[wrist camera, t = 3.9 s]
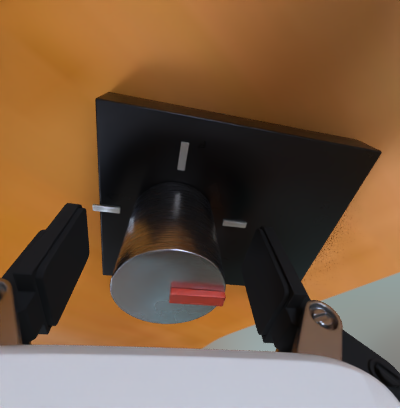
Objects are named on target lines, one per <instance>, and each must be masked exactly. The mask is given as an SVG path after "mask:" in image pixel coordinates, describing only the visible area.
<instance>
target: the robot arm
mask: <svg viewBox="0 0 400 408" xmlns="http://www.w3.org/2000/svg"><path fill="white" fill-rule="evenodd" d="M88 257H89V240H88V227H87V215H86V209H85V208H82V206H81V205H79V204H71V203H67V204H66V205H65V206H64V207H63V208H62V210H61V211H60V212H59V214H58V215H57V216H56V217H55V219H54V220H53V221H52V223H51V224H50V225H49V226H48V228H47V229H46V230H41V231H40V232H39V233H38V234H37V235H36V236H35V237H34V239H33V240H32V241H31V242H30V243H29V245H28V246H27V247H26V248H25V250H24V251H23V252H22V253H21V255H20V256H19V257H18V258H17V259H16V261H15V262H14V263H13V264H12V266H11V267H10V268H9V269H8V271H7V272H6V273H5V274H4V275H3V277H2V278H0V408H400V373H399V372H398V371H397V370H396V369H395V368H394V367H393V366H392V365H391V364H390V363H389V362H387V361H386V360H385V359H383V358H382V357H381V356H379V355H378V354H376V353H375V352H373V351H372V350H370V349H369V348H368V347H366V346H365V345H364V344H362V343H361V342H359V341H358V340H356V339H355V338H354V337H352V336H351V335H349V334H348V333H347V332H345V331H344V330H343V329H342V327H343V326H342V321H341V319H340V317H339V315H338V314H337V313H336V312H335V311H334V310H333V309H332V308H331V307H330V306H329V305H327V304H325V303H323V302H321V301H318V300H310V298H309V296H308V294H307V292H306V290H305V288H304V286H303V284H302V283H301V281H300V279H299V277H298V275H297V273H296V271H295V269H294V267H293V265H292V263H291V261H290V259H289V258H288V256H287V254H286V252H285V250H284V248H283V246H282V244H281V242H280V241H279V239H278V237H277V235H276V233H275V231H274V229H273V228H272V227H264V226H261V227H260V228H259V229H256V231H255V233H254V236H253V238H252V241H251V243H250V246H249V248H248V251H247V253H246V256H245V258H244V260H243V263H242V266H241V272H242V276H243V280H244V283H245V287H246V291H247V294H248V298H249V302H250V306H251V309H252V313H253V317H254V320H255V324H256V328H257V331H258V333H259V335H262V339H263V342H264V343H274V345H275V347H276V352H268V351H244V350H217V349H216V350H215V349H188V348H156V347H122V346H85V345H31V341H32V340H34V339H35V338H36V337H37V335H38V334H48V333H49V331H50V329H51V327H52V326H56V325H57V324H58V322H59V320H60V317H61V315H62V313H63V311H64V309H65V307H66V305H67V302H68V300H69V298H70V296H71V294H72V292H73V290H74V287H75V285H76V283H77V281H78V279H79V277H80V274H81V272H82V270H83V268H84V266H85V264H86V262H87V259H88Z"/></svg>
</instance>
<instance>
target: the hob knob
mask: <svg viewBox="0 0 400 408" xmlns="http://www.w3.org/2000/svg"><path fill="white" fill-rule="evenodd" d="M225 287H226V284H225V277H224V272H223V267H222V261H221V256H220V251H219V245H218V240H217V235H216V229H215V224H214V219H213V213H212V208H211V205H210V203H209V201H208V199H207V198H206V197H205V195H204V194H203V193H202V192H200V191H199V190H198V189H196V188H195V187H193V186H190V185H188V184H185V183H180V182H164V183H160V184H156V185H154V186H152V187H150V188H148V189H147V190H145V191H144V192H143V193H142V194H141V195H140V196H139V198H138V199H137V201H136V203H135V205H134V209H133V212H132V215H131V218H130V221H129V224H128V227H127V231H126V234H125V237H124V240H123V243H122V246H121V249H120V253H119V256H118V259H117V262H116V265H115V268H114V271H113V275H112V278H111V281H110V292H111V295H112V298H113V300H114V301H115V303H116V304H117V305H118V306H119V307H120V308H121V309H122V310H123V311H125V312H126V313H127V314H129V315H131V316H133V317H135V318H137V319H140V320H143V321H147V322H152V323H161V324H174V323H182V322H187V321H191V320H194V319H197V318H199V317H202V316H204V315H206V314H207V313H209V312H210V311H212V310H213V309H214V308H215V307H216V306H223V303H224V301H225V298H226V297H225Z"/></svg>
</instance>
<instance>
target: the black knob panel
mask: <svg viewBox="0 0 400 408" xmlns="http://www.w3.org/2000/svg"><path fill="white" fill-rule="evenodd" d="M96 124H97V148H98V172H99V196H100V204H93V211H100V220H101V244H102V268H103V275H110V276H112V275H113V271H114V268H115V265H116V262H117V259H118V256H119V253H120V249H121V246H122V243H123V240H124V237H125V234H126V231H127V227H128V224H129V221H130V218H131V215H132V212H133V209H134V205H135V203H136V201H137V199H138V198H139V196H140V195H141V194H142V193H143V192H144V191H145V190H147V189H148V188H150V187H152V186H154V185H156V184H160V183H164V182H180V183H185V184H188V185H190V186H193V187H195V188H196V189H198V190H199V191H200V192H202V193H203V194H204V195H205V197H206V198H207V199H208V201H209V203H210V205H211V208H212V213H213V219H214V224H215V229H216V235H217V240H218V245H219V251H220V256H221V261H222V267H223V272H224V277H225V284H229V285H242V286H245V283H244V280H243V276H242V272H241V266H242V263H243V260H244V258H245V256H246V253H247V251H248V248H249V246H250V243H251V241H252V238H253V236H254V233H255V231H256V229H259V228H260V227H261V226H264V227H272V228H273V229H274V231H275V233H276V235H277V237H278V239H279V241H280V242H281V244H282V246H283V248H284V250H285V252H286V254H287V256H288V258H289V259H290V261H291V263H292V265H293V267H294V269H295V271H296V273H297V275H298V277H299V279H300V281H301V280H302V279H303V277H304V275H305V274H306V272H307V271H308V269H309V268H310V266H311V264H312V263H313V261H314V260H315V258H316V256H317V255H318V253H319V252H320V250H321V248H322V247H323V245H324V244H325V242H326V240H327V239H328V237H329V236H330V234H331V232H332V231H333V229H334V228H335V226H336V225H337V223H338V221H339V220H340V218H341V217H342V215H343V213H344V212H345V210H346V209H347V207H348V205H349V204H350V202H351V201H352V199H353V197H354V196H355V194H356V193H357V191H358V190H359V188H360V186H361V185H362V183H363V182H364V180H365V178H366V177H367V175H368V174H369V172H370V170H371V169H372V167H373V166H374V164H375V162H376V161H377V159H378V158H379V156H380V154H381V151H379V150H377V149H375V148H373V147H371V146H369V145H367V144H365V143H363V142H361V141H359V140H355V139H350V138H345V137H340V136H335V135H329V134H324V133H319V132H314V131H309V130H303V129H298V128H293V127H288V126H283V125H277V124H272V123H267V122H262V121H257V120H251V119H246V118H241V117H236V116H231V115H225V114H220V113H215V112H210V111H205V110H199V109H194V108H189V107H184V106H179V105H173V104H168V103H163V102H158V101H153V100H147V99H142V98H137V97H132V96H127V95H122V94H116V93H111V92H108V93H106V94H104V95H102V96H100V97H98V98H96Z"/></svg>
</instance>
